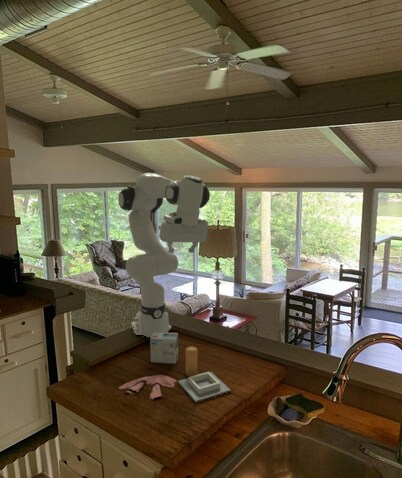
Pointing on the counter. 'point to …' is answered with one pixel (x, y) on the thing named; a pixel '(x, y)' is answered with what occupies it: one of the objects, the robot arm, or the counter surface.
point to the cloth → (157, 380)
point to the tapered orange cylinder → (191, 361)
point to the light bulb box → (164, 347)
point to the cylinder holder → (203, 386)
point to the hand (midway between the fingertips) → (181, 252)
